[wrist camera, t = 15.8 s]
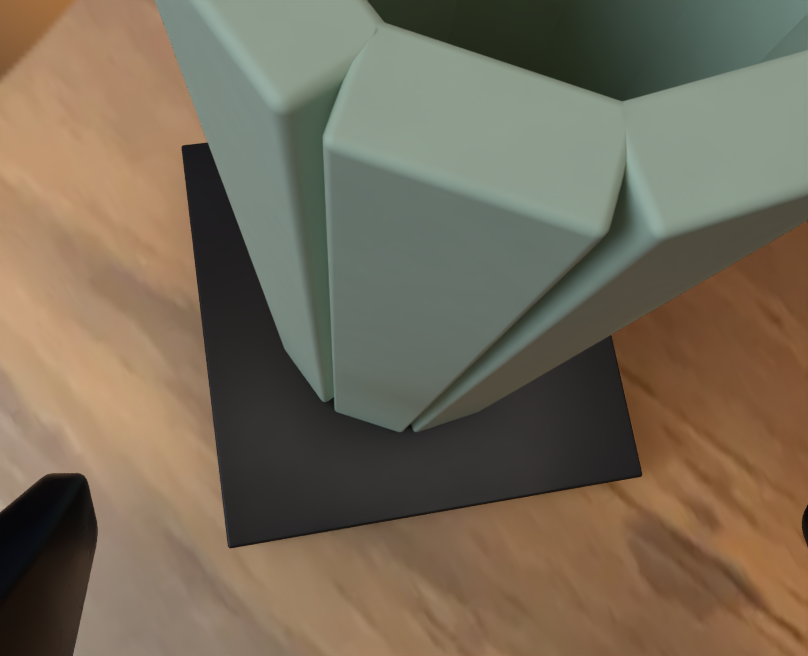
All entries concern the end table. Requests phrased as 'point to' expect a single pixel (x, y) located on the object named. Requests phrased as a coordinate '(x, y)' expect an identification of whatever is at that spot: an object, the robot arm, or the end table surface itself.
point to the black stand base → (365, 442)
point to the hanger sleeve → (490, 174)
